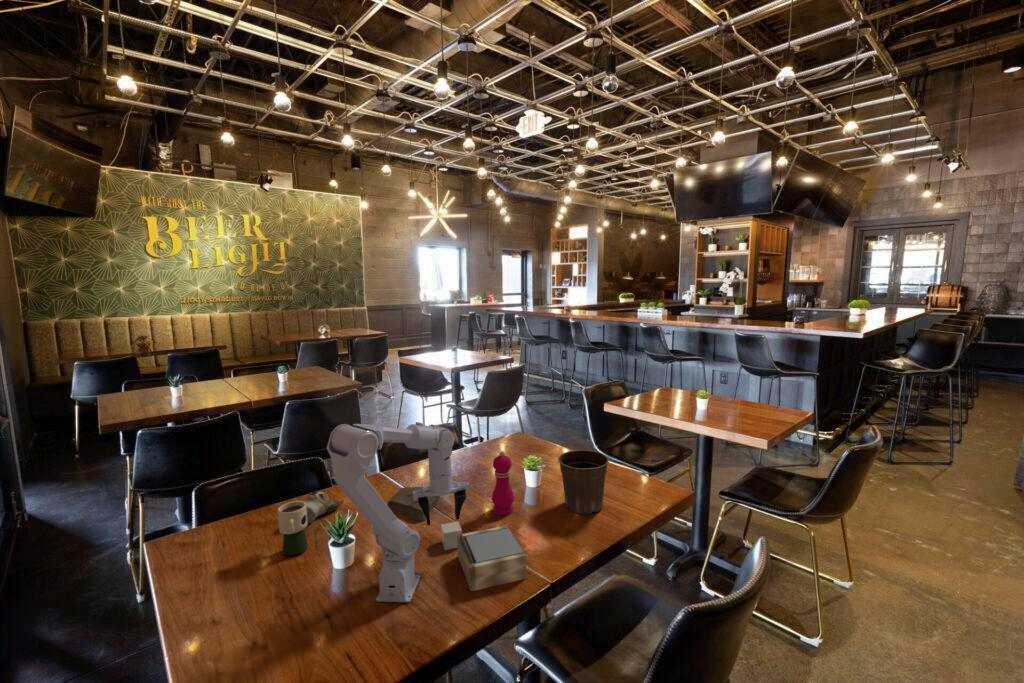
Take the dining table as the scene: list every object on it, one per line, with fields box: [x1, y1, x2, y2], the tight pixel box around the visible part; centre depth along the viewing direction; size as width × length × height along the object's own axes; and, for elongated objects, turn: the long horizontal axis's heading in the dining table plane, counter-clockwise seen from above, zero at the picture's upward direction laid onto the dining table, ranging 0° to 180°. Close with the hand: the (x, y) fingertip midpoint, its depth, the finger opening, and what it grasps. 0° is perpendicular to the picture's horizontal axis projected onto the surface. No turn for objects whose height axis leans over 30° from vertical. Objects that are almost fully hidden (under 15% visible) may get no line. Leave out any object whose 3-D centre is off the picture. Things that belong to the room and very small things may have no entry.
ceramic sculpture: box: [304, 490, 344, 524], centre depth 144 cm, size 11×9×15 cm
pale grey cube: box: [440, 520, 463, 551], centre depth 126 cm, size 5×5×5 cm
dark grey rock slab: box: [386, 486, 441, 522], centre depth 148 cm, size 17×15×4 cm
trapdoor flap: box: [466, 527, 525, 564], centre depth 115 cm, size 12×12×1 cm
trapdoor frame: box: [457, 525, 527, 592], centre depth 115 cm, size 14×15×7 cm
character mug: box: [277, 500, 309, 556], centre depth 124 cm, size 11×7×13 cm, turn 22°
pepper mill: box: [491, 450, 515, 517], centre depth 143 cm, size 7×7×20 cm
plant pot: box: [557, 449, 610, 515], centre depth 146 cm, size 16×16×16 cm
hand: (443, 520), depth 119 cm, fingers open, 7 cm apart
